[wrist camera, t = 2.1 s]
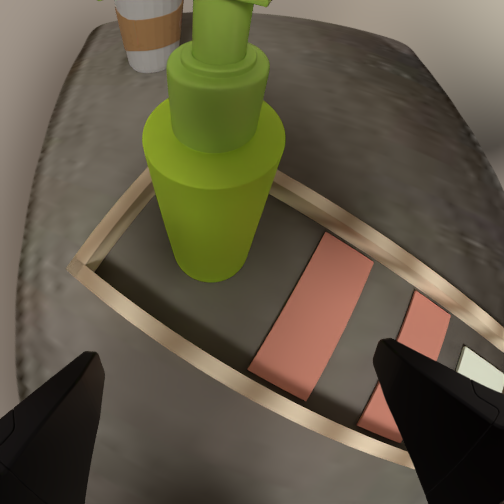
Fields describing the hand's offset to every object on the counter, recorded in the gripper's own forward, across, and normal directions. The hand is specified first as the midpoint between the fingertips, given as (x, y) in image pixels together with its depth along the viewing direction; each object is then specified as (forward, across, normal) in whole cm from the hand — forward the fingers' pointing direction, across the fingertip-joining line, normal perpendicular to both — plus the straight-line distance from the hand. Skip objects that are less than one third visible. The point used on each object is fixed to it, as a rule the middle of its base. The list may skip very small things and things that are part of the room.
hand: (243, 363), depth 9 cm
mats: (+10, -11, +8) cm, 17 cm away
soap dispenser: (+16, +1, +2) cm, 16 cm away
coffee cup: (+33, +9, -17) cm, 38 cm away
